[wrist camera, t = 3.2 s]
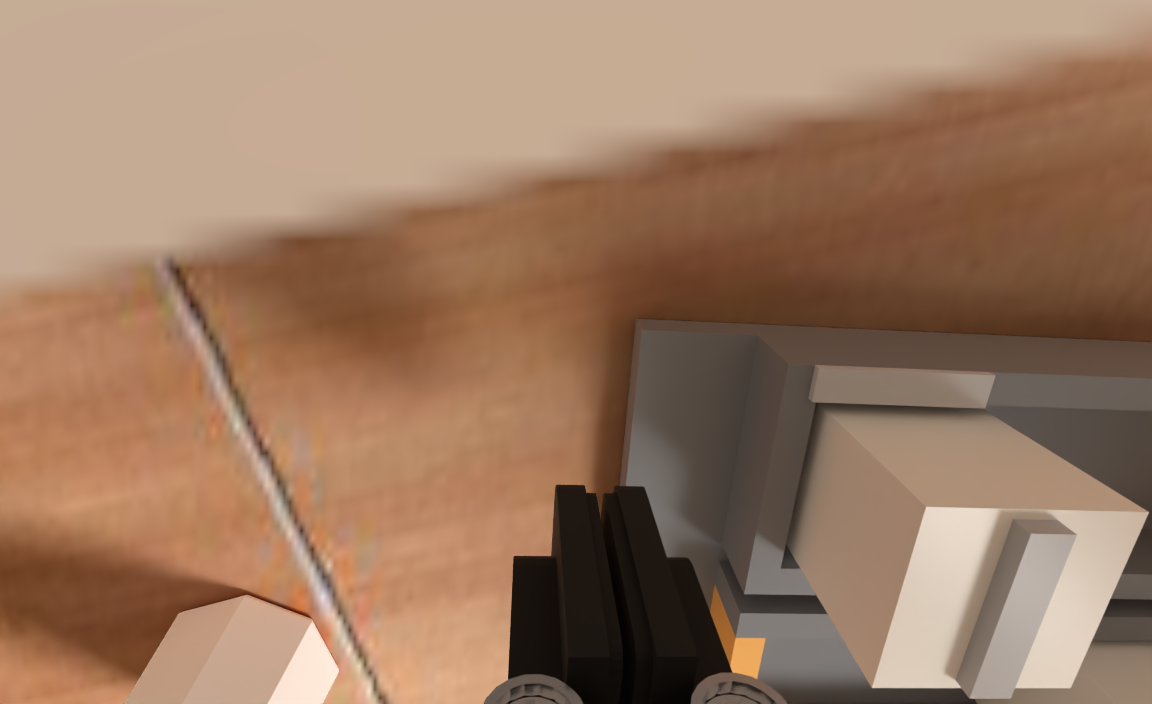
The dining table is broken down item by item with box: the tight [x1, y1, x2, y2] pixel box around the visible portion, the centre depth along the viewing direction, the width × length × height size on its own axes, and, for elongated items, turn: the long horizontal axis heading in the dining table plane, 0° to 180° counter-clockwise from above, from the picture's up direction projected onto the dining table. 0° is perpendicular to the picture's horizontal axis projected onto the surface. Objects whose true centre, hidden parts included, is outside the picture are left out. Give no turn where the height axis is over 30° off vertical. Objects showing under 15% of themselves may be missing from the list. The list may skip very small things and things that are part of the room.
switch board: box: [619, 319, 1152, 704], centre depth 17 cm, size 20×13×3 cm, turn 87°
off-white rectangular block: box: [786, 402, 1149, 699], centre depth 13 cm, size 4×4×6 cm
